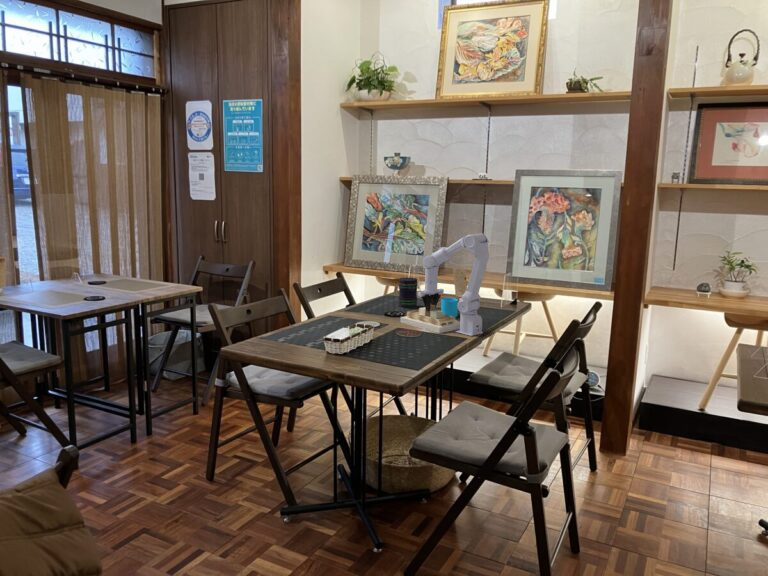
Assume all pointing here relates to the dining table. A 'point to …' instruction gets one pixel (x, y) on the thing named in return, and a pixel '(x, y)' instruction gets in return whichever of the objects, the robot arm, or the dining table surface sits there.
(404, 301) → the storage jar
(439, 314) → the pale green block
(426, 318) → the tan open box
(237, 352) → the dining table surface
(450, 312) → the mug
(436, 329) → the dock
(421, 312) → the off-white square block
